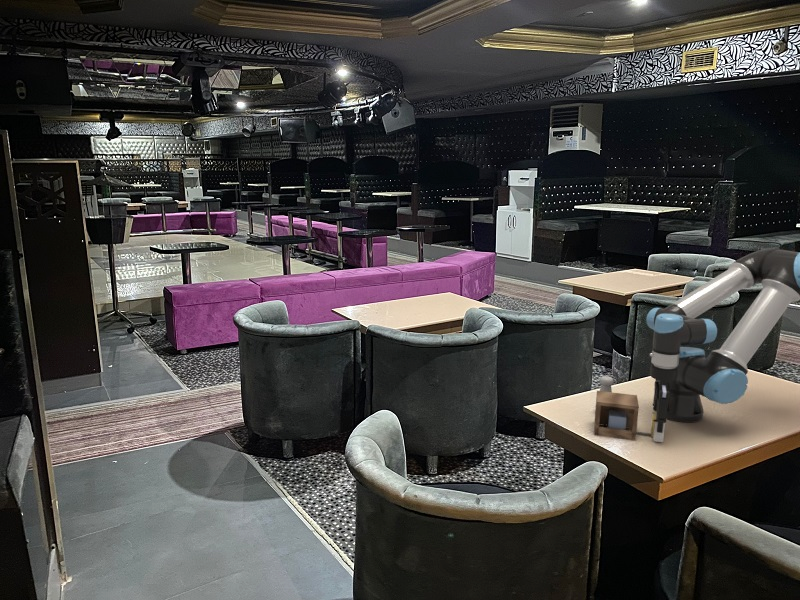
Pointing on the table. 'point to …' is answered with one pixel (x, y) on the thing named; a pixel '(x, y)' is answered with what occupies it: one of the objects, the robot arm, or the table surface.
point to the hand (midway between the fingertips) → (656, 436)
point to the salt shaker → (606, 383)
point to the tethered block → (619, 422)
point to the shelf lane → (617, 403)
